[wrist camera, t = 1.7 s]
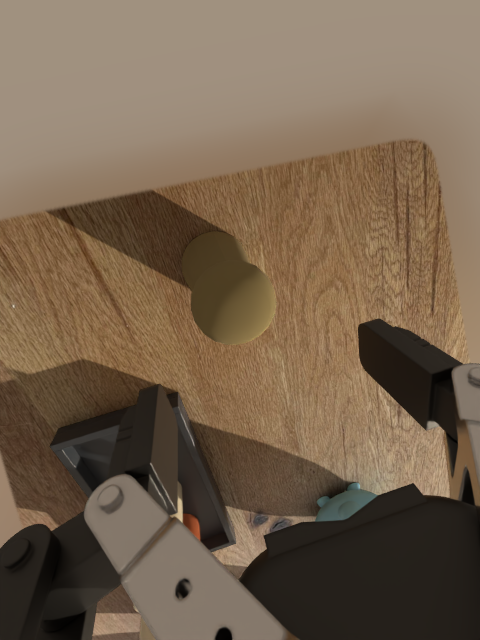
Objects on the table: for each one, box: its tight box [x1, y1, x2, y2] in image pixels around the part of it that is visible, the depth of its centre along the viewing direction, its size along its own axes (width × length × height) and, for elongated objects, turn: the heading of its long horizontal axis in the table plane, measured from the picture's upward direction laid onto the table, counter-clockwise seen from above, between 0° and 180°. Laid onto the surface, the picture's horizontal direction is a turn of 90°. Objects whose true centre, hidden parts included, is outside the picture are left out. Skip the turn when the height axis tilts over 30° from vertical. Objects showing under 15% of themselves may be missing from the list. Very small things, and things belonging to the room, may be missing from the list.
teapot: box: [315, 483, 378, 522], centre depth 41 cm, size 13×13×10 cm
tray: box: [50, 392, 236, 552], centre depth 35 cm, size 26×13×2 cm, turn 13°
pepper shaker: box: [181, 231, 276, 345], centre depth 21 cm, size 6×6×11 cm
